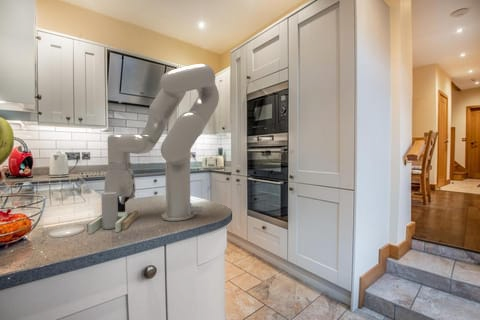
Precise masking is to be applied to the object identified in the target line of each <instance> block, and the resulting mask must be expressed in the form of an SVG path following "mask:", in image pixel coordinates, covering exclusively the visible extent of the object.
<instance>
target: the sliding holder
mask: <svg viewBox="0 0 480 320" xmlns="http://www.w3.org/2000/svg"><path fill="white" fill-rule="evenodd" d="M132 213H133V212H132V211H125V212H118V221H117V222H116V223H115V228H114V230H115V231H114V232H115V233H119V232H121V231H122V222H123V221H124V220H125V219H126V218H128V217H129V216H130V215H131V214H132ZM99 216H100V215H99ZM99 216H98V217H99ZM96 218H97V217H96ZM96 218H95V219H96ZM93 220H94V219H93ZM93 220H92V221H93ZM90 222H91V221H90ZM90 222H89V223H90ZM87 224H88V223H87ZM101 228H102V216H100V217H99V218H97V219H96V220H94V221H93V222H91V223H90V224H88V232H87V234H89V235H92V234H93V233H95V232H96V231H97V230H99V229H101Z"/></svg>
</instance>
